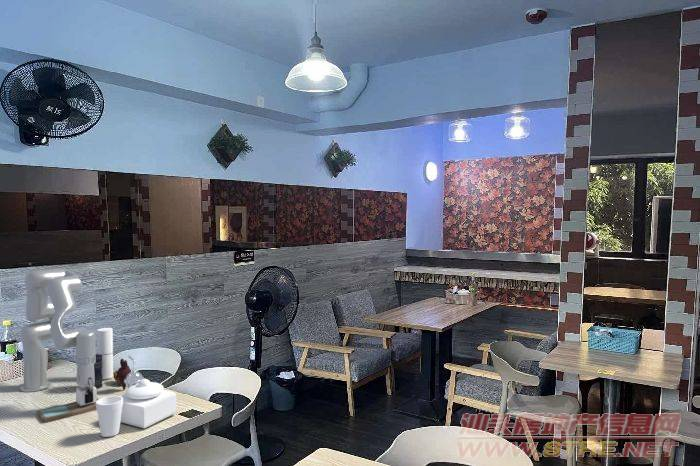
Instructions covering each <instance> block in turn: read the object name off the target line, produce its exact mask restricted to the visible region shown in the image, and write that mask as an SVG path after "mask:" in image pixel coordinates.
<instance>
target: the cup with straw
mask: <svg viewBox="0 0 700 466" xmlns="http://www.w3.org/2000/svg"><path fill="white" fill-rule="evenodd" d="M127 357H128V358H129V359H130V360H131V361H132V362H133V363H132V365H133V367H132V368H133V369H132V370H133V371H131V372H130V373H129V374H128V375H127V377H126V379H124V383H126V390H127V389H128V388H130V387H131V386H133V385H136V384H138V383H139V381H141V380H142V379H145V377H144V376H143V375H142V373H141V372H139V371H136V360H135V359H134V358H133V357H132V356H131V355H128V356H127Z"/></svg>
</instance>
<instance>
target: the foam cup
mask: <svg viewBox="0 0 700 466" xmlns="http://www.w3.org/2000/svg"><path fill="white" fill-rule="evenodd" d="M121 396H122V395H108V396H104V397H101V398H97V399H98V400H97V401H96V410H95V411H96V412H97V418H98V423H99V430H100V436H101V437H103V438H107V437H113V436H116V435H118V433H120V427H121V422H120V421H121V413H122V405H123V397H121Z"/></svg>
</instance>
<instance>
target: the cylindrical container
mask: <svg viewBox="0 0 700 466" xmlns="http://www.w3.org/2000/svg"><path fill="white" fill-rule="evenodd" d="M96 331H97V332H96V333H97V334H96V335H97V337H96V339H97V340H96V341H97V342H96V343H97V345H96V346H97V347H96V348H97V351H96V352H97V353H96V354H100V355H102V365H103V366H102V376H103V377H102V378H103V380H109V379H111V378H114V375H113V373H114V344H113V343H114V340H113V339H114V336H113V331H114V329H113V328H112V327H101V328H98V329H97V330H96Z"/></svg>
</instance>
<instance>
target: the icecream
mask: <svg viewBox="0 0 700 466" xmlns="http://www.w3.org/2000/svg"><path fill="white" fill-rule="evenodd" d="M119 363H120V367H119V368H118V369H117V370H116V371H117V376H116V378H117V379H119V380H120V383H121V387H122V390H123V391H126V389H127V387H126V383H124V379H126V377H127V375H128V374H129V373H130V372H132V370H131V368H130V366H129V365H128V361H127V360H125V359H124V358H121V359H120V362H119Z"/></svg>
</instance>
